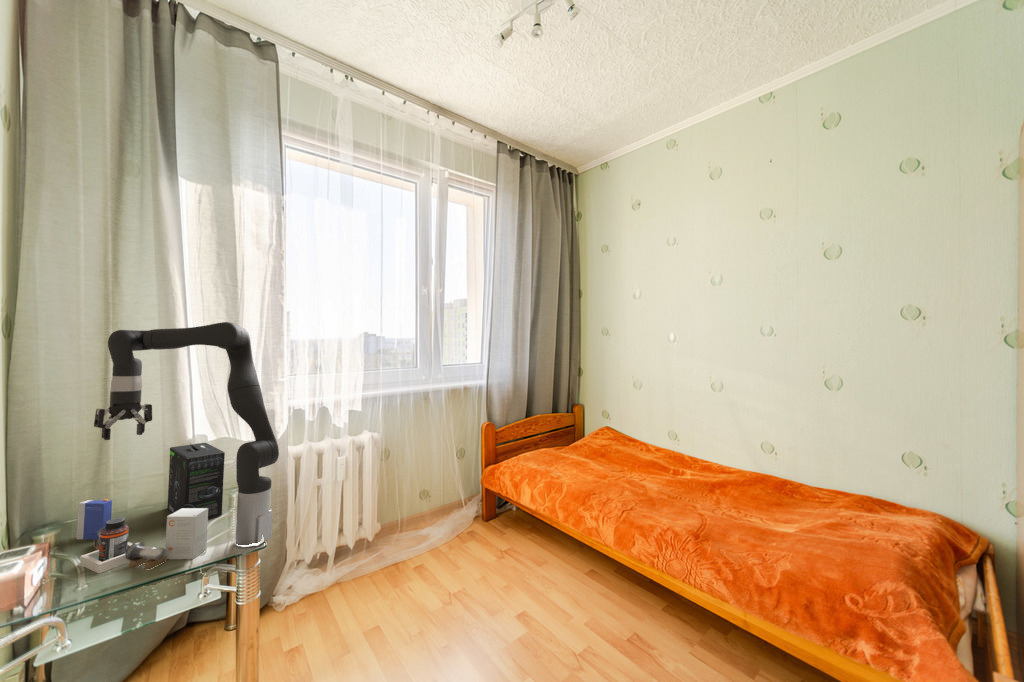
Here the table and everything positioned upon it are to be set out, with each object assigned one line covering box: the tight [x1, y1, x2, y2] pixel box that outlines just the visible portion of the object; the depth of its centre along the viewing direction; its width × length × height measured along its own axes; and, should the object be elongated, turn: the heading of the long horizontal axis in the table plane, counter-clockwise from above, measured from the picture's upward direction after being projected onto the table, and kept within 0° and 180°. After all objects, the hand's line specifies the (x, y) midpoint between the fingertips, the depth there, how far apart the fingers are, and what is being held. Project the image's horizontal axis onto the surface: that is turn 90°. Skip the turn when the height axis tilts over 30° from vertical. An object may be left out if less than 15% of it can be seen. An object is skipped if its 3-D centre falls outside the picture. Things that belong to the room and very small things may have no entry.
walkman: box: [76, 498, 113, 540], centre depth 128 cm, size 8×3×12 cm, turn 94°
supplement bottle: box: [99, 517, 129, 562], centre depth 116 cm, size 6×6×11 cm
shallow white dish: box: [79, 541, 133, 574], centre depth 116 cm, size 10×10×2 cm
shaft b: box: [92, 527, 105, 551], centre depth 123 cm, size 9×5×6 cm, turn 53°
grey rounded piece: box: [125, 541, 167, 570], centre depth 115 cm, size 9×5×6 cm, turn 83°
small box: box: [164, 508, 209, 560], centre depth 121 cm, size 8×6×13 cm
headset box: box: [167, 442, 226, 520], centre depth 150 cm, size 22×12×26 cm, turn 53°
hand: (123, 437), depth 132 cm, fingers open, 8 cm apart
